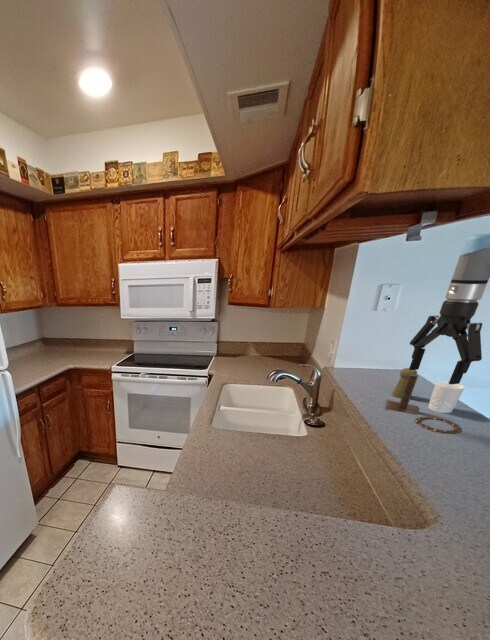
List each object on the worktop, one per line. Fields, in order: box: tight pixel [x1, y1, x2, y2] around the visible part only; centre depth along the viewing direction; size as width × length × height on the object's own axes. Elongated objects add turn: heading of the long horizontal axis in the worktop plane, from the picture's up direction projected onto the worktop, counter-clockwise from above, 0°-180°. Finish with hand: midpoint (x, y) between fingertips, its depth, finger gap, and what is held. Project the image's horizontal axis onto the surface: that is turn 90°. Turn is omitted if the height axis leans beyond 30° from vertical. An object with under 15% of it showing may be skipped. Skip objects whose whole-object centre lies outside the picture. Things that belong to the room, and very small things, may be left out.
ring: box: [414, 415, 462, 435], centre depth 105 cm, size 12×12×2 cm
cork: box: [391, 367, 418, 399], centre depth 128 cm, size 6×6×11 cm
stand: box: [386, 374, 419, 416], centre depth 114 cm, size 9×9×14 cm
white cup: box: [428, 380, 466, 414], centre depth 115 cm, size 8×8×10 cm
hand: (432, 376), depth 98 cm, fingers open, 13 cm apart
